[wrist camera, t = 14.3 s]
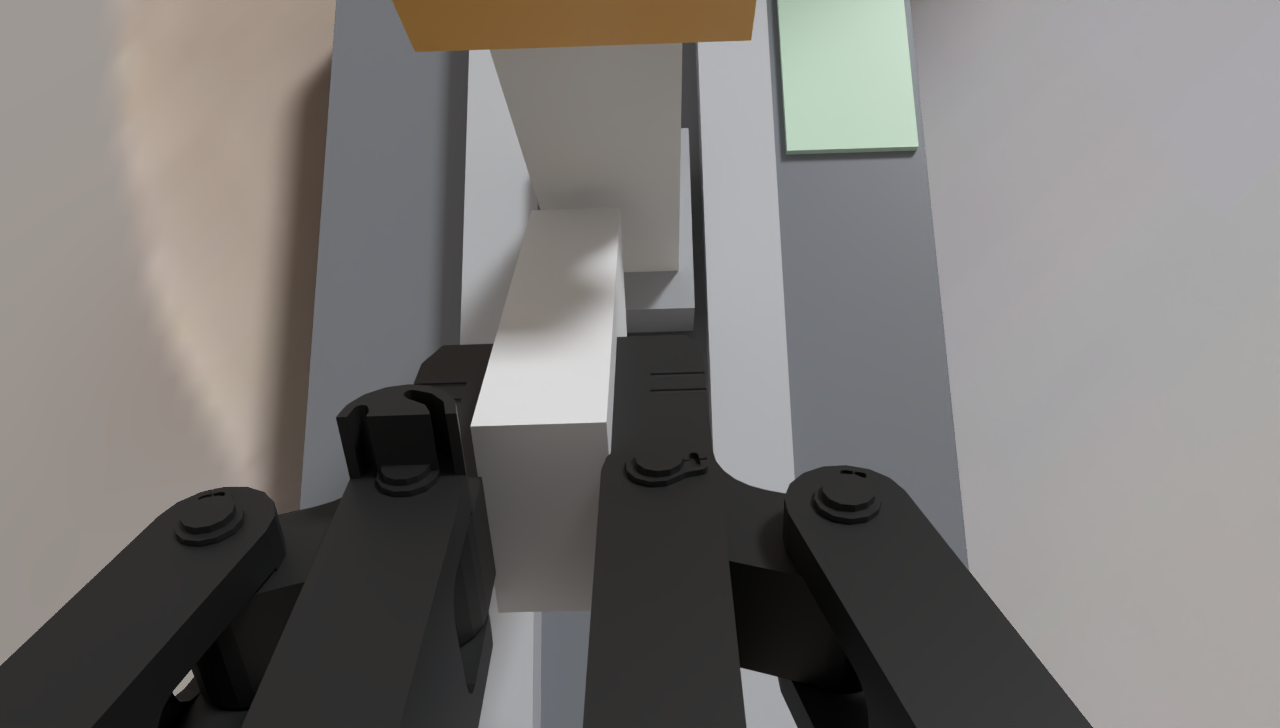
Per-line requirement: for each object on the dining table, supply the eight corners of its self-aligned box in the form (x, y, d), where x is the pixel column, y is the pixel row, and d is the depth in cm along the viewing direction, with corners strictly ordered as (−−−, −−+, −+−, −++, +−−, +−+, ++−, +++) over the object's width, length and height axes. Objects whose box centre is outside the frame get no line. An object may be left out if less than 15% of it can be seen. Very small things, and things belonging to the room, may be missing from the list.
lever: (716, 330, 21) (768, -34, 10) (532, 335, 21) (361, -19, 10) (709, 162, 22) (750, -354, 11) (534, 167, 22) (381, -337, 11)
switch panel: (976, 1067, 20) (1053, 1177, 16) (312, 1071, 21) (225, 1180, 17) (876, -12, 27) (912, -124, 23) (375, 6, 28) (324, -101, 23)
